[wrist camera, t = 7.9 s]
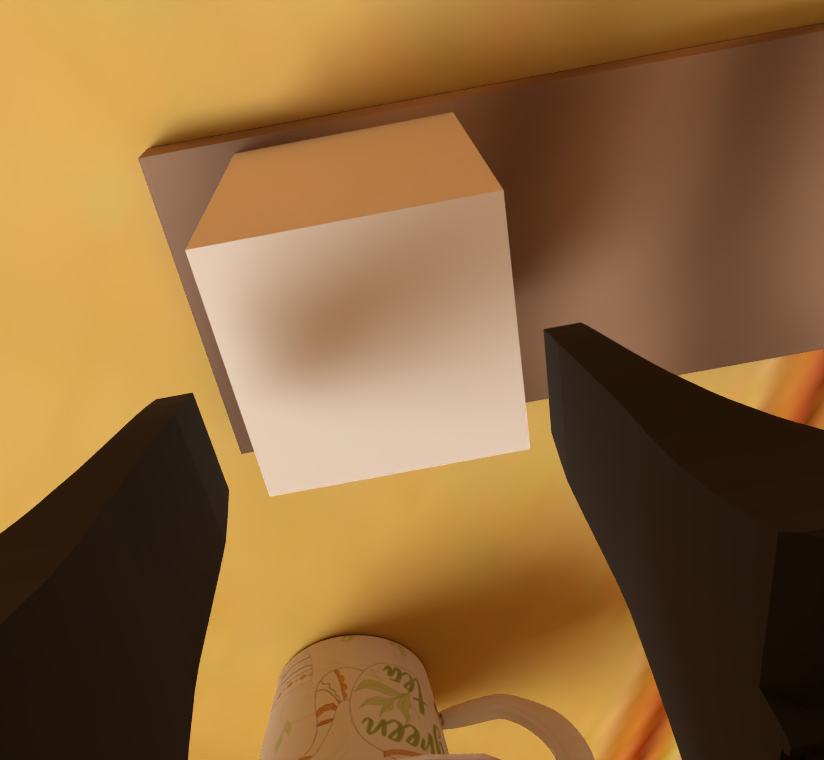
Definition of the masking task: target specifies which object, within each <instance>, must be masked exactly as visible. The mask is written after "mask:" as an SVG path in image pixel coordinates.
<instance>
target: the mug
mask: <svg viewBox="0 0 824 760" xmlns="http://www.w3.org/2000/svg"><path fill="white" fill-rule="evenodd" d="M494 719H506V720H510V721H512V722H515V723H517V724H520V725H521V726H523V727H525V728H527V729H528V730H530V731H531V732H533V733H534V734H535V735H536V736H538V737H539V738H540V739H541V740H542V741H543V742H544V743H545V744H546V745H547V746H548V748H549V749H550V750H551V752H552V753H553V755H554V756H555V758H556V760H594V757H593V754H592V752H591V750H590V748H589V746H588V744H587V743H586V741H585V739H584V738H583V737H582V735H581V734H580V733H579V731H578V730H577V729H576V728H575V727H574V726H573V725H572V724H571V723H570V722H569V721H568V720H567V719H566V718H565V717H564V716H562V715H561V714H559V713H558V712H556V711H555V710H553V709H551V708H549V707H547V706H544V705H542V704H539V703H536V702H534V701H530V700H527V699H524V698H521V697H517V696H512V695H505V694H496V695H490V696H484V697H480V698H477V699H473V700H470V701H466V702H463V703H460V704H457V705H454V706H452V707H450V708H447V709H445V710H443V711H441V712H439V713H438V712H437V708H436V704H435V701H434V697H433V693H432V689H431V686H430V682H429V679H428V676H427V673H426V670H425V668H424V666H423V665H422V663H421V661H420V660H419V659H418V658H417V657H416V655H414V654H413V653H412V652H411V651H410V650H408V649H407V648H405V647H404V646H402V645H400V644H398V643H396V642H393V641H391V640H388V639H384V638H380V637H375V636H366V635H349V636H340V637H335V638H330V639H327V640H324V641H320V642H318V643H316V644H313V645H311V646H309V647H307V648H306V649H304V650H303V651H301V652H299V653H298V654H297V655H296V656H295V657H293V658H292V659H291V660H290V661H289V663H288V664H287V665H286V667H285V668H284V670H283V671H282V674H281V676H280V679H279V681H278V684H277V688H276V692H275V696H274V700H273V705H272V709H271V713H270V717H269V721H268V726H267V730H266V734H265V738H264V743H263V747H262V751H261V755H260V759H259V760H397V759H402V758H408V757H414V756H419V755H427V754H449V753H448V749H447V745H446V742H445V738H444V734H443V730H442V729H453V728H459V727H464V726H469V725H473V724H477V723H481V722H485V721H489V720H494Z"/></svg>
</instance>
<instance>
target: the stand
mask: <svg viewBox="0 0 824 760" xmlns="http://www.w3.org/2000/svg"><path fill="white" fill-rule="evenodd" d="M450 112H453V113H454V115H455V116H456V118H457V119H458V121H459V122H460V124H461V125H462V127H463V128H464V130H465V131H466V133H467V135H468V136H469V138H470V139H471V141H472V142H473V144H474V145H475V147H476V148H477V150H478V152H479V153H480V155H481V156H482V158H483V159H484V161H485V162H486V164H487V165H488V167H489V168H490V170H491V172H492V173H493V175H494V176H495V178H496V179H497V181H498V182H499V184H500V185H501V187H502V189H503V190H504V200H505V209H506V219H507V229H508V238H509V248H510V258H511V267H512V277H513V287H514V296H515V306H516V315H517V325H518V335H519V344H520V354H521V364H522V373H523V383H524V393H525V402H531V401H537V400H542V399H548V398H549V394H548V382H547V369H546V356H545V343H544V331H543V329H547V328H552V327H558V326H563V325H569V324H574V323H580V322H581V323H583V324H585V325H587V326H589V327H591V328H593V329H594V330H596V331H598V332H600V333H601V334H603V335H605V336H606V337H608V338H610V339H611V340H613V341H615V342H617V343H618V344H620V345H622V346H623V347H625V348H627V349H629V350H630V351H632V352H634V353H636V354H637V355H639V356H641V357H643V358H644V359H646V360H648V361H650V362H652V363H654V364H655V365H657V366H659V367H661V368H663V369H665V370H667V371H669V372H671V373H673V374H675V375H681V374H687V373H692V372H698V371H703V370H709V369H714V368H720V367H726V366H731V365H737V364H742V363H748V362H753V361H759V360H764V359H770V358H776V357H781V356H787V355H792V354H798V353H803V352H809V351H814V350H820V349H824V23H819V24H814V25H809V26H803V27H798V28H793V29H787V30H782V31H776V32H771V33H766V34H760V35H755V36H750V37H744V38H739V39H733V40H728V41H723V42H717V43H712V44H707V45H701V46H696V47H690V48H685V49H680V50H674V51H669V52H664V53H658V54H653V55H647V56H642V57H637V58H631V59H626V60H621V61H615V62H610V63H604V64H599V65H594V66H588V67H583V68H578V69H572V70H567V71H561V72H556V73H551V74H545V75H540V76H535V77H529V78H524V79H518V80H513V81H508V82H502V83H497V84H492V85H486V86H481V87H475V88H470V89H465V90H459V91H454V92H449V93H443V94H438V95H432V96H427V97H422V98H416V99H411V100H406V101H400V102H395V103H389V104H384V105H379V106H373V107H368V108H363V109H357V110H352V111H346V112H341V113H336V114H330V115H325V116H320V117H314V118H309V119H303V120H298V121H293V122H287V123H282V124H277V125H271V126H266V127H260V128H255V129H250V130H244V131H239V132H234V133H228V134H223V135H217V136H212V137H207V138H201V139H196V140H191V141H185V142H180V143H175V144H169V145H164V146H158V147H153V148H148V149H147V150H146V151H145V152H144V153H143V154H142V155H141V156H140V157H139V158H138V159H139V162H140V165H141V168H142V170H143V173H144V176H145V179H146V182H147V185H148V188H149V190H150V193H151V196H152V199H153V202H154V205H155V208H156V211H157V213H158V216H159V219H160V222H161V225H162V228H163V231H164V233H165V236H166V239H167V242H168V245H169V248H170V251H171V253H172V256H173V259H174V262H175V265H176V268H177V271H178V273H179V276H180V279H181V282H182V285H183V288H184V291H185V294H186V296H187V299H188V302H189V305H190V308H191V311H192V314H193V316H194V319H195V322H196V325H197V328H198V331H199V334H200V336H201V339H202V342H203V345H204V348H205V351H206V354H207V356H208V359H209V362H210V365H211V368H212V371H213V374H214V376H215V379H216V382H217V385H218V388H219V391H220V394H221V397H222V399H223V402H224V405H225V408H226V411H227V414H228V417H229V419H230V422H231V425H232V428H233V431H234V434H235V437H236V439H237V442H238V445H239V448H240V451H241V454H243V453H248V452H254V449H253V447H252V444H251V441H250V438H249V435H248V432H247V429H246V426H245V423H244V420H243V417H242V415H241V412H240V409H239V406H238V403H237V400H236V397H235V394H234V391H233V388H232V385H231V383H230V380H229V377H228V374H227V371H226V368H225V365H224V362H223V359H222V356H221V353H220V351H219V348H218V345H217V342H216V339H215V336H214V333H213V330H212V327H211V324H210V321H209V318H208V316H207V313H206V310H205V307H204V304H203V301H202V298H201V295H200V292H199V289H198V286H197V284H196V281H195V278H194V275H193V272H192V269H191V266H190V263H189V260H188V257H187V254H186V252H185V249H186V247H187V245H188V243H189V241H190V239H191V237H192V236H193V234H194V232H195V230H196V228H197V226H198V224H199V222H200V220H201V218H202V216H203V214H204V212H205V210H206V208H207V206H208V204H209V202H210V200H211V198H212V196H213V195H214V193H215V191H216V189H217V187H218V185H219V183H220V181H221V179H222V177H223V175H224V173H225V171H226V169H227V167H228V165H229V163H230V161H231V159H232V157H233V155H234V154H235V153H240V152H245V151H251V150H256V149H261V148H266V147H272V146H277V145H282V144H287V143H293V142H298V141H303V140H308V139H314V138H319V137H324V136H329V135H335V134H340V133H345V132H350V131H356V130H361V129H366V128H371V127H377V126H382V125H387V124H392V123H398V122H403V121H408V120H413V119H419V118H424V117H429V116H434V115H440V114H445V113H450Z"/></svg>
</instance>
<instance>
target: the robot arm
mask: <svg viewBox="0 0 824 760" xmlns="http://www.w3.org/2000/svg"><path fill="white" fill-rule="evenodd" d="M543 331H544V343H545V356H546V369H547V382H548V394H549V407H550V420H551V432H552V435H553V439H554V442H555V445H556V448H557V451H558V454H559V457H560V460H561V463H562V466H563V469H564V472H565V475H566V478H567V481H568V483H569V485H570V487H571V489H572V491H573V494H574V496H575V498H576V500H577V502H578V504H579V506H580V508H581V510H582V512H583V514H584V516H585V518H586V520H587V522H588V524H589V526H590V528H591V530H592V532H593V534H594V536H595V539H596V541H597V543H598V545H599V547H600V549H601V551H602V553H603V555H604V557H605V559H606V561H607V563H608V565H609V567H610V569H611V571H612V573H613V575H614V577H615V579H616V581H617V583H618V585H619V587H620V589H621V592H622V594H623V596H624V599H625V601H626V603H627V605H628V608H629V610H630V612H631V615H632V618H633V621H634V623H635V626H636V629H637V632H638V634H639V637H640V640H641V643H642V645H643V648H644V651H645V654H646V656H647V659H648V662H649V665H650V667H651V670H652V673H653V676H654V679H655V682H656V685H657V688H658V690H659V693H660V696H661V699H662V702H663V705H664V708H665V711H666V713H667V716H668V719H669V722H670V725H671V728H672V731H673V734H674V737H675V740H676V743H677V746H678V749H679V752H680V755H681V758H682V760H824V430H822V429H819V428H815V427H811V426H808V425H804V424H800V423H796V422H793V421H790V420H787V419H784V418H780V417H777V416H774V415H771V414H768V413H765V412H763V411H760V410H757V409H754V408H752V407H749V406H746V405H743V404H741V403H738V402H735V401H732V400H730V399H727V398H725V397H723V396H720V395H718V394H715V393H713V392H711V391H709V390H706V389H704V388H702V387H700V386H698V385H696V384H693V383H691V382H689V381H687V380H685V379H683V378H681V377H679V376H677V375H675V374H673V373H671V372H669V371H667V370H665V369H663V368H661V367H659V366H657V365H655V364H654V363H652V362H650V361H648V360H646V359H644V358H643V357H641V356H639V355H637V354H636V353H634V352H632V351H630V350H629V349H627V348H625V347H623V346H622V345H620V344H618V343H617V342H615V341H613V340H611V339H610V338H608V337H606V336H605V335H603V334H601V333H600V332H598V331H596V330H594V329H593V328H591V327H589V326H587V325H585V324H583V323H581V322H580V323H574V324H569V325H563V326H558V327H552V328H547V329H543ZM228 498H229V489H228V486H227V484H226V481H225V478H224V476H223V473H222V470H221V468H220V465H219V462H218V459H217V457H216V454H215V451H214V449H213V446H212V443H211V441H210V438H209V435H208V433H207V430H206V427H205V425H204V422H203V419H202V416H201V414H200V411H199V408H198V406H197V403H196V400H195V398H194V395H193V393H189V394H183V395H178V396H172V397H167V398H161V399H156V400H155V401H153V402H152V403H151V404H149V405H148V406H147V407H145V408H144V409H143V410H142V411H141V412H140V413H138V414H137V415H136V416H135V417H134V418H133V419H132V420H131V421H130V422H129V423H127V424H126V425H125V426H124V427H123V428H122V429H121V430H120V431H119V432H118V433H117V434H116V435H115V436H114V437H112V438H111V439H110V440H109V441H108V442H107V443H106V444H105V445H104V446H103V447H102V448H101V449H100V450H99V451H97V452H96V453H95V454H94V455H93V456H92V457H91V458H90V459H89V460H88V461H87V462H86V463H85V464H83V465H82V466H81V467H80V468H79V469H78V470H77V471H76V472H75V473H73V474H72V475H71V476H70V477H69V478H68V479H66V480H65V481H64V482H63V483H62V484H61V485H59V486H58V487H57V488H56V489H55V490H54V491H52V492H51V493H50V494H49V495H48V496H47V497H45V498H44V499H43V500H42V501H41V502H40V503H38V504H37V505H36V506H35V507H34V508H33V509H31V510H30V511H29V512H28V513H26V514H25V515H24V516H23V517H21V518H20V519H19V520H18V521H16V522H15V523H14V524H12V525H11V526H10V527H8V528H7V529H6V530H4V531H3V532H2V533H0V760H188V751H189V741H190V731H191V722H192V712H193V703H194V693H195V686H196V680H197V674H198V668H199V663H200V658H201V653H202V649H203V644H204V640H205V635H206V631H207V626H208V622H209V617H210V613H211V608H212V604H213V599H214V595H215V590H216V586H217V581H218V576H219V572H220V567H221V562H222V558H223V553H224V548H225V543H226V531H227V518H228ZM397 760H500V759H497V758H495V757H492V756H490V755H487V754H427V755H419V756H414V757H408V758H402V759H397Z"/></svg>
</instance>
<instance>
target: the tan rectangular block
mask: <svg viewBox="0 0 824 760" xmlns="http://www.w3.org/2000/svg"><path fill="white" fill-rule="evenodd" d="M185 252H186V254H187V257H188V260H189V263H190V266H191V269H192V272H193V275H194V278H195V281H196V284H197V286H198V289H199V292H200V295H201V298H202V301H203V304H204V307H205V310H206V313H207V316H208V318H209V321H210V324H211V327H212V330H213V333H214V336H215V339H216V342H217V345H218V348H219V351H220V353H221V356H222V359H223V362H224V365H225V368H226V371H227V374H228V377H229V380H230V383H231V385H232V388H233V391H234V394H235V397H236V400H237V403H238V406H239V409H240V412H241V415H242V417H243V420H244V423H245V426H246V429H247V432H248V435H249V438H250V441H251V444H252V447H253V449H254V452H255V455H256V458H257V461H258V464H259V467H260V470H261V473H262V476H263V479H264V481H265V484H266V487H267V490H268V493H269V496H270V497H271V496H276V495H282V494H287V493H293V492H298V491H304V490H309V489H315V488H320V487H326V486H331V485H337V484H342V483H347V482H353V481H358V480H364V479H369V478H375V477H380V476H386V475H391V474H397V473H402V472H408V471H413V470H418V469H424V468H429V467H435V466H440V465H446V464H451V463H457V462H462V461H468V460H473V459H479V458H484V457H489V456H495V455H500V454H506V453H511V452H517V451H522V450H528V449H530V441H529V431H528V422H527V412H526V402H525V393H524V383H523V373H522V364H521V354H520V344H519V335H518V325H517V315H516V306H515V296H514V287H513V277H512V267H511V258H510V248H509V238H508V229H507V219H506V209H505V200H504V190H503V189H502V187H501V185H500V184H499V182H498V181H497V179H496V178H495V176H494V175H493V173H492V172H491V170H490V168H489V167H488V165H487V164H486V162H485V161H484V159H483V158H482V156H481V155H480V153H479V152H478V150H477V148H476V147H475V145H474V144H473V142H472V141H471V139H470V138H469V136H468V135H467V133H466V131H465V130H464V128H463V127H462V125H461V124H460V122H459V121H458V119H457V118H456V116H455V115H454V113H453V112H450V113H445V114H440V115H434V116H429V117H424V118H419V119H413V120H408V121H403V122H398V123H392V124H387V125H382V126H377V127H371V128H366V129H361V130H356V131H350V132H345V133H340V134H335V135H329V136H324V137H319V138H314V139H308V140H303V141H298V142H293V143H287V144H282V145H277V146H272V147H266V148H261V149H256V150H251V151H245V152H240V153H235V154H234V155H233V157H232V159H231V161H230V163H229V165H228V167H227V169H226V171H225V173H224V175H223V177H222V179H221V181H220V183H219V185H218V187H217V189H216V191H215V193H214V195H213V196H212V198H211V200H210V202H209V204H208V206H207V208H206V210H205V212H204V214H203V216H202V218H201V220H200V222H199V224H198V226H197V228H196V230H195V232H194V234H193V236H192V237H191V239H190V241H189V243H188V245H187V247H186V249H185Z"/></svg>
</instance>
